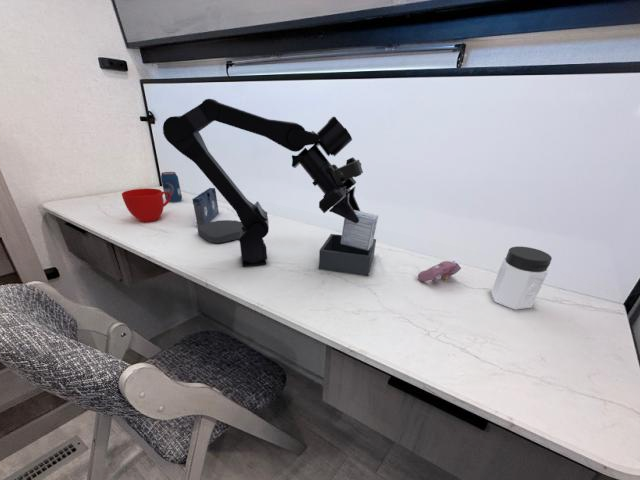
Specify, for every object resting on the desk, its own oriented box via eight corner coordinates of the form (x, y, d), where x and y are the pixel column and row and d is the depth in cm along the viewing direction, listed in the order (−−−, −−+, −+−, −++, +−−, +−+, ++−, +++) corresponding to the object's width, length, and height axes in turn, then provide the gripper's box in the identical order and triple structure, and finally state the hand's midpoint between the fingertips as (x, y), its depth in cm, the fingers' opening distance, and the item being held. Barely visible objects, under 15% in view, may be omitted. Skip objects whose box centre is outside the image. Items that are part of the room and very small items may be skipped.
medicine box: (372, 246, 83) (379, 215, 79) (368, 251, 80) (374, 219, 75) (345, 239, 86) (350, 208, 81) (340, 244, 82) (344, 212, 77)
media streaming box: (213, 245, 95) (211, 236, 94) (194, 233, 104) (193, 224, 103) (254, 236, 103) (253, 227, 102) (233, 225, 113) (232, 217, 111)
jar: (506, 311, 68) (527, 262, 62) (482, 293, 75) (499, 247, 68) (539, 307, 70) (563, 259, 63) (513, 290, 76) (532, 245, 70)
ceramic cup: (184, 216, 120) (178, 190, 115) (142, 227, 108) (134, 198, 102) (163, 210, 126) (157, 185, 120) (122, 220, 113) (113, 192, 108)
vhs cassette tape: (213, 212, 125) (209, 187, 120) (220, 213, 125) (216, 187, 120) (196, 227, 109) (190, 199, 104) (204, 227, 109) (199, 199, 104)
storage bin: (318, 269, 83) (319, 250, 80) (330, 250, 95) (330, 233, 92) (368, 276, 81) (370, 257, 78) (373, 256, 92) (376, 239, 89)
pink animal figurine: (424, 290, 78) (439, 273, 72) (414, 276, 80) (428, 259, 74) (451, 282, 82) (467, 266, 76) (442, 270, 84) (457, 253, 78)
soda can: (162, 202, 136) (156, 173, 130) (171, 198, 142) (165, 171, 136) (177, 203, 136) (171, 174, 129) (185, 199, 141) (180, 172, 135)
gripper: (335, 149, 64) (381, 208, 67) (351, 143, 79) (387, 191, 83) (299, 185, 69) (343, 238, 73) (321, 172, 85) (356, 216, 88)
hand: (359, 219), depth 79 cm, fingers closed on medicine box, 5 cm apart
